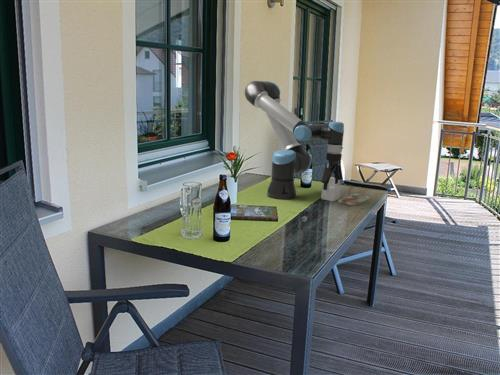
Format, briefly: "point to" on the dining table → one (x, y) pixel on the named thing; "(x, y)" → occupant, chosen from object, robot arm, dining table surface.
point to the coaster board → (353, 199)
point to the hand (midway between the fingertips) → (330, 193)
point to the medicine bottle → (332, 190)
